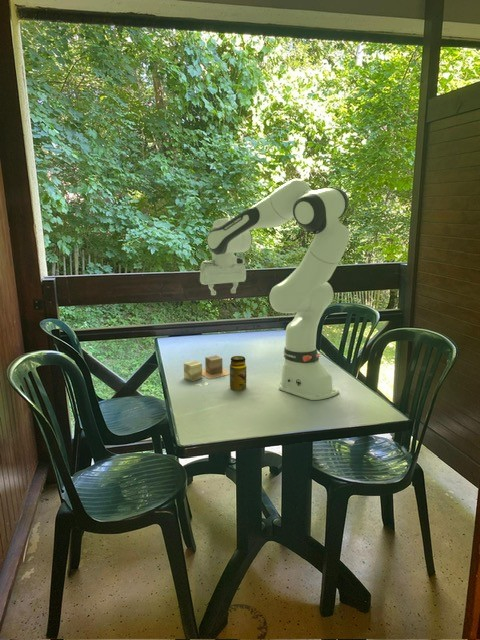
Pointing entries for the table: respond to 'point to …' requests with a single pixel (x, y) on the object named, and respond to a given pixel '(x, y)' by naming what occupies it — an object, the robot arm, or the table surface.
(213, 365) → the walnut block
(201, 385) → the tile
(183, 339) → the table surface
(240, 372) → the condiment
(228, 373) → the coaster
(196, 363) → the oak block
